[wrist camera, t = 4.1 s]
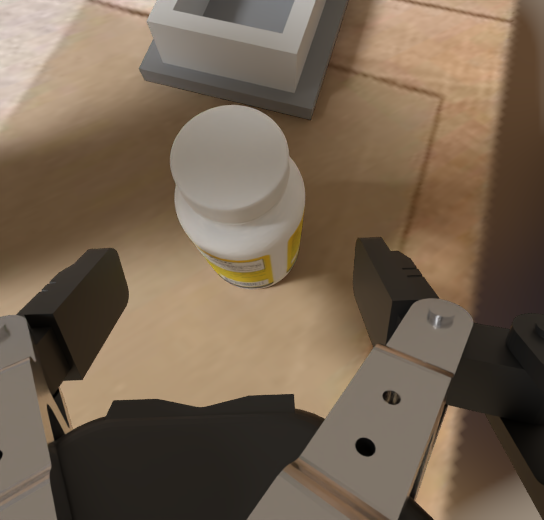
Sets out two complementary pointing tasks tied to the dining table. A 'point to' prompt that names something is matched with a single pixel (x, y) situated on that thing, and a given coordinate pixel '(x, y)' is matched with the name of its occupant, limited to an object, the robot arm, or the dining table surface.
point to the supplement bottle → (239, 194)
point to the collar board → (245, 49)
